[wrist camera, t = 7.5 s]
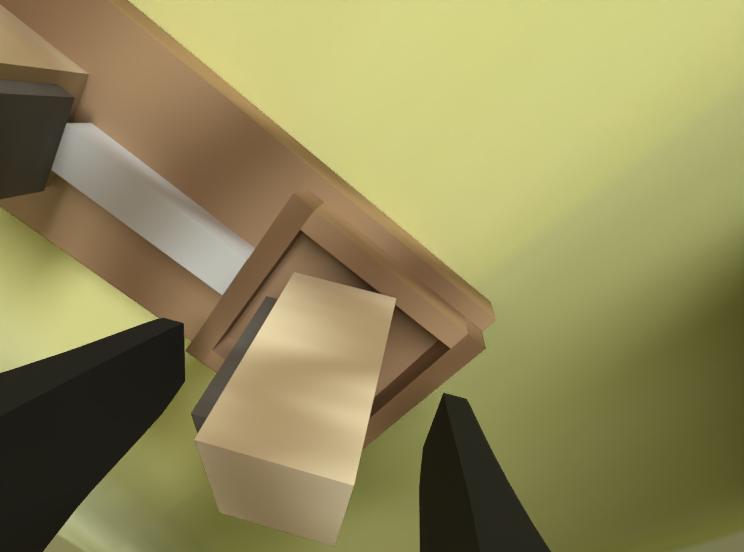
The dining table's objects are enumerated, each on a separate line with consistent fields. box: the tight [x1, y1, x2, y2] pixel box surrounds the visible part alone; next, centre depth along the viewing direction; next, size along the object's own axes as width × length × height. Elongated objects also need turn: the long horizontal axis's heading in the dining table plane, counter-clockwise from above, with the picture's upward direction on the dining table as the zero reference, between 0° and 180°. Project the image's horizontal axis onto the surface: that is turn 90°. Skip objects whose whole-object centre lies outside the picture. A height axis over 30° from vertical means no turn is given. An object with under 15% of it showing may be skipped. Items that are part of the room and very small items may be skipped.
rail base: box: [0, 0, 496, 449], centre depth 10 cm, size 18×8×6 cm, turn 52°
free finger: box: [191, 272, 396, 547], centre depth 10 cm, size 4×4×5 cm
